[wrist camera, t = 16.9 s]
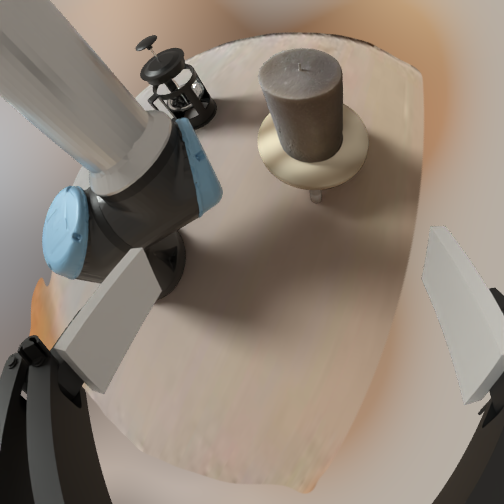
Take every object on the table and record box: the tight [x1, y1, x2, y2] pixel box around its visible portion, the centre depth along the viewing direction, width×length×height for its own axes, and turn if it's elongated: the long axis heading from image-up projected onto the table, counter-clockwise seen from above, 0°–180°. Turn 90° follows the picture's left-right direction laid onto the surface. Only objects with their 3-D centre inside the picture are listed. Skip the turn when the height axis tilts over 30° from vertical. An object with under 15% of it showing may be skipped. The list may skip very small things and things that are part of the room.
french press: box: [136, 35, 217, 129], centre depth 45 cm, size 12×9×23 cm
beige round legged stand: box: [258, 104, 369, 203], centre depth 42 cm, size 17×17×8 cm
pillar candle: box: [258, 48, 343, 163], centre depth 32 cm, size 10×10×15 cm
